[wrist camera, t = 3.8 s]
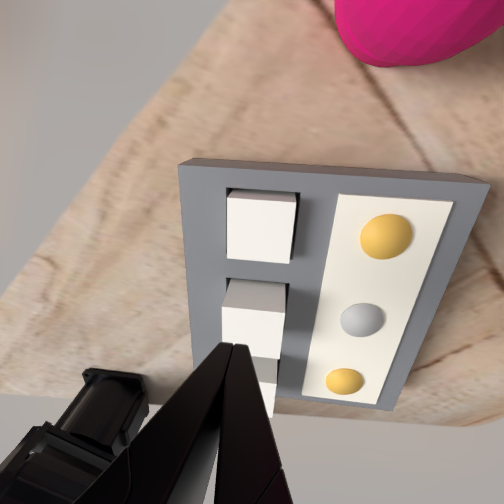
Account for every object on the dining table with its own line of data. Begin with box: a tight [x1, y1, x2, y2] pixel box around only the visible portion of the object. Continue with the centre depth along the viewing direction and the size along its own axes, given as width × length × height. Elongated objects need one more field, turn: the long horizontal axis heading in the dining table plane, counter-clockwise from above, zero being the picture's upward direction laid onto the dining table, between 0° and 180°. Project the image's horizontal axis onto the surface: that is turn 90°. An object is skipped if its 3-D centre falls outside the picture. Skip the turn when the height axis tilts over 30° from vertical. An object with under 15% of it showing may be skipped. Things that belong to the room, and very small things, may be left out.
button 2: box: [251, 356, 277, 418], centre depth 21 cm, size 4×4×3 cm
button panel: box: [178, 158, 491, 411], centre depth 20 cm, size 17×19×4 cm
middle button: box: [222, 278, 285, 359], centre depth 18 cm, size 4×4×3 cm
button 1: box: [227, 188, 296, 264], centre depth 17 cm, size 4×4×3 cm
